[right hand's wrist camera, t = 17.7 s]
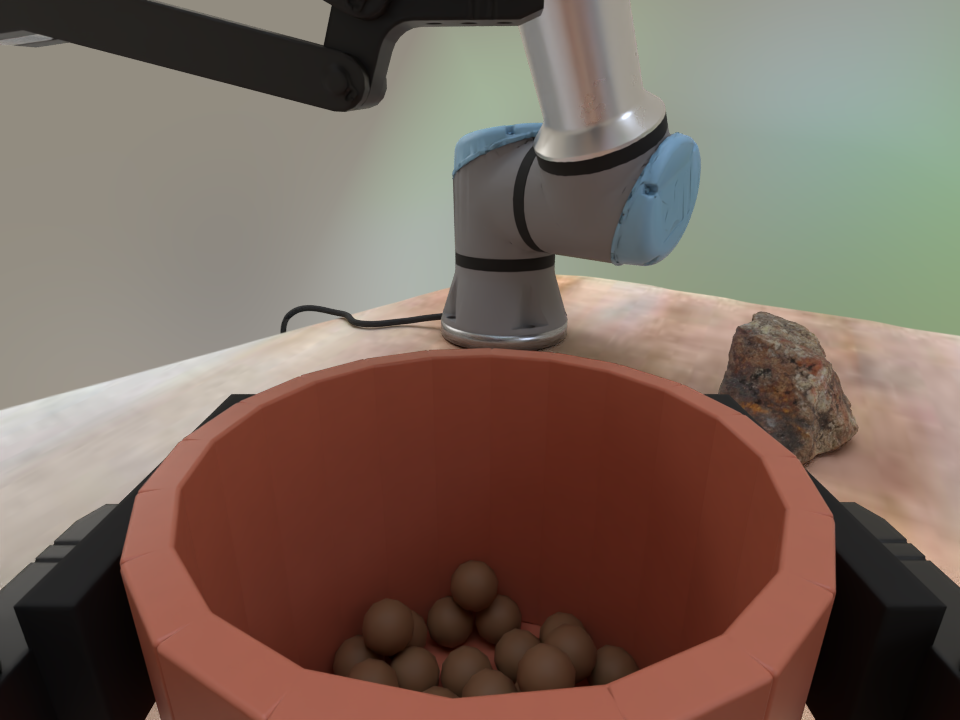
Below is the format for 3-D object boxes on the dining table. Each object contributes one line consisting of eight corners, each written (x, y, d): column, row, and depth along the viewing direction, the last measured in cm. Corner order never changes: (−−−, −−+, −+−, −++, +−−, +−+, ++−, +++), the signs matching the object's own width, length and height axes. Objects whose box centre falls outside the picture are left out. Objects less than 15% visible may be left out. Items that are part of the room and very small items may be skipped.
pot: (757, 721, 14) (833, 401, 11) (655, 1523, 6) (849, 1135, 3) (425, 576, 18) (415, 326, 16) (112, 905, 10) (-34, 514, 7)
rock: (677, 439, 45) (810, 492, 38) (685, 339, 42) (833, 377, 35) (761, 381, 53) (883, 415, 46) (774, 294, 50) (907, 316, 43)
